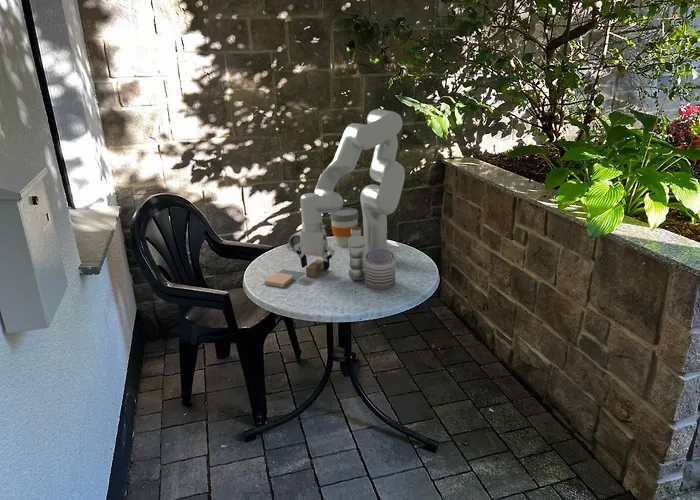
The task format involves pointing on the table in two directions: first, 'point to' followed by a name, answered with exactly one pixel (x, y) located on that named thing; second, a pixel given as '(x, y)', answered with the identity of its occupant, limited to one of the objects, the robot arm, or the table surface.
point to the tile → (279, 279)
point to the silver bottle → (356, 255)
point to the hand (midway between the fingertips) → (315, 268)
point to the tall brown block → (311, 273)
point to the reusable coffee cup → (343, 225)
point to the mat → (295, 273)
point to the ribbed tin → (380, 270)
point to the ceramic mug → (294, 240)
